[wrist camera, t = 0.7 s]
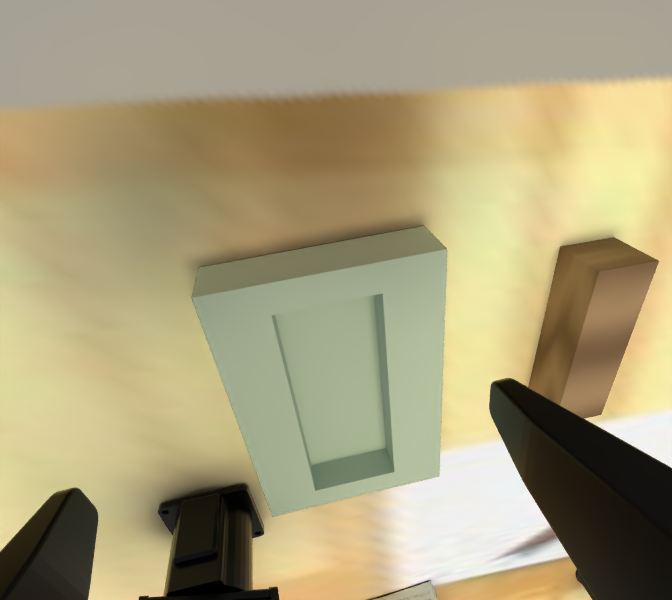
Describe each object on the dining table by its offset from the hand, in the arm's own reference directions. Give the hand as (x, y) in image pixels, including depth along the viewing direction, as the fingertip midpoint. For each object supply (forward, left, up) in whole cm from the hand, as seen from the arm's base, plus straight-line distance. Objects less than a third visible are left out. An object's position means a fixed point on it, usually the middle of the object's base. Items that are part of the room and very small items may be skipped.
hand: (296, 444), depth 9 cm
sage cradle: (-11, -2, -14) cm, 17 cm away
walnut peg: (-11, -18, -14) cm, 25 cm away
